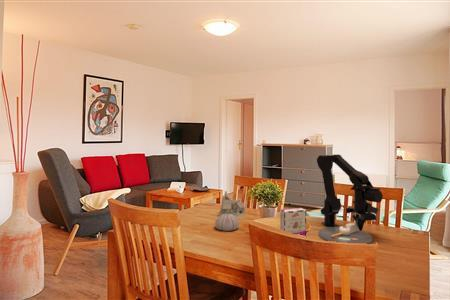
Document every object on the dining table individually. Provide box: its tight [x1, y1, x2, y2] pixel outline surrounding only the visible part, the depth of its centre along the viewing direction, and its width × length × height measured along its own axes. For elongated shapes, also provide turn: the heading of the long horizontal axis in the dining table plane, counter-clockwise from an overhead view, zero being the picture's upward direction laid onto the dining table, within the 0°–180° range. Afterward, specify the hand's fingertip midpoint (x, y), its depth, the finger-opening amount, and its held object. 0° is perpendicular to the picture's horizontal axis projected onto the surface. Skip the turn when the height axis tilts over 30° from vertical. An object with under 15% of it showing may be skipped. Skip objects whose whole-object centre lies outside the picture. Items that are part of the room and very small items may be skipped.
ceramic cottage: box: [218, 190, 246, 218], centre depth 195 cm, size 16×16×15 cm
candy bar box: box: [279, 207, 307, 237], centre depth 143 cm, size 11×5×16 cm, turn 105°
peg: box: [331, 221, 359, 237], centre depth 155 cm, size 22×5×4 cm, turn 125°
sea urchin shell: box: [214, 213, 240, 232], centre depth 168 cm, size 13×14×8 cm
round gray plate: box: [318, 226, 373, 245], centre depth 154 cm, size 25×25×2 cm
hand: (360, 230), depth 156 cm, fingers closed
